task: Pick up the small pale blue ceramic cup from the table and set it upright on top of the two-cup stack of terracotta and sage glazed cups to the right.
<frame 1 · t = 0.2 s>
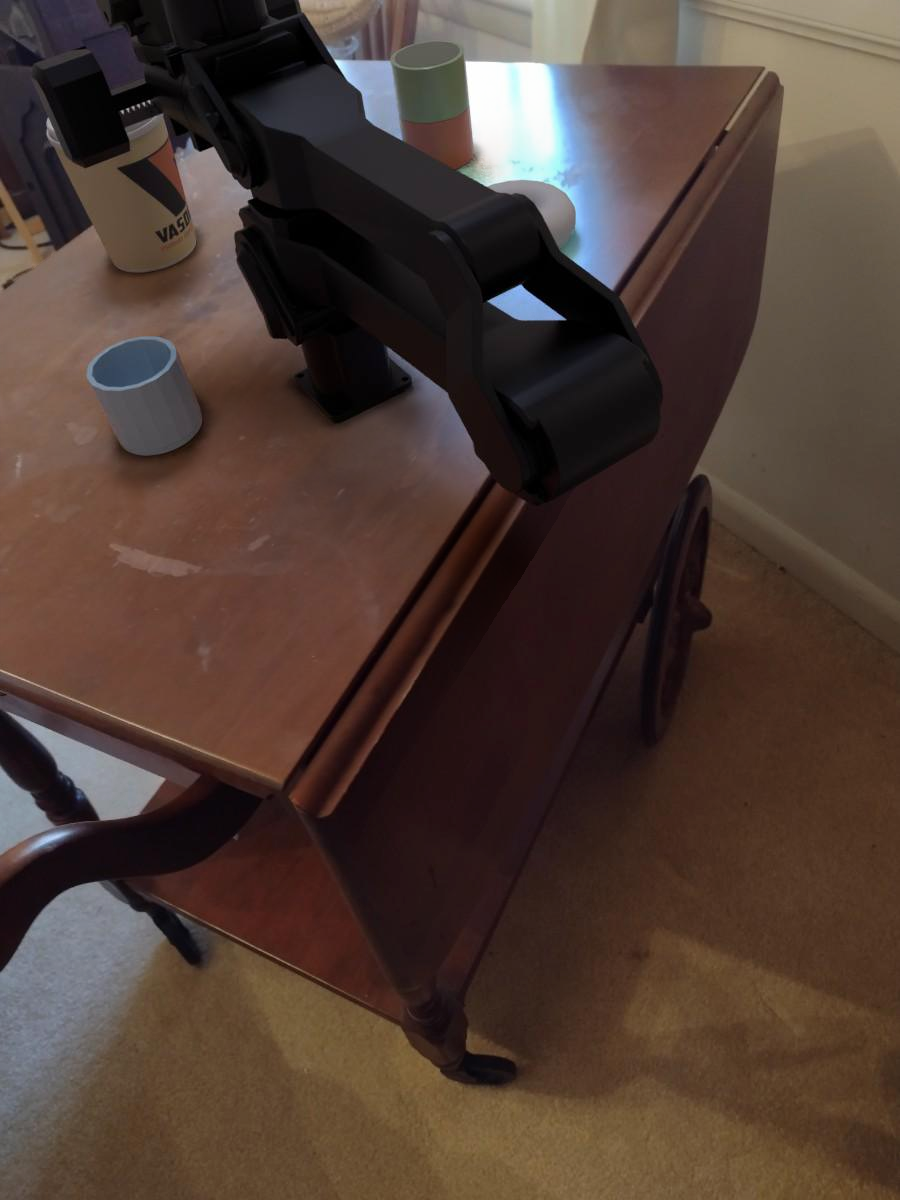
hand: (138, 50, 68), 16 cm above the tea cart, tool horizontal, fingers open, 9 cm apart
coffee cup: (155, 252, 82), on the tea cart
blue cup: (161, 427, 64), on the tea cart
donut: (515, 243, 76), on the tea cart
cup stack: (439, 157, 87), on the tea cart
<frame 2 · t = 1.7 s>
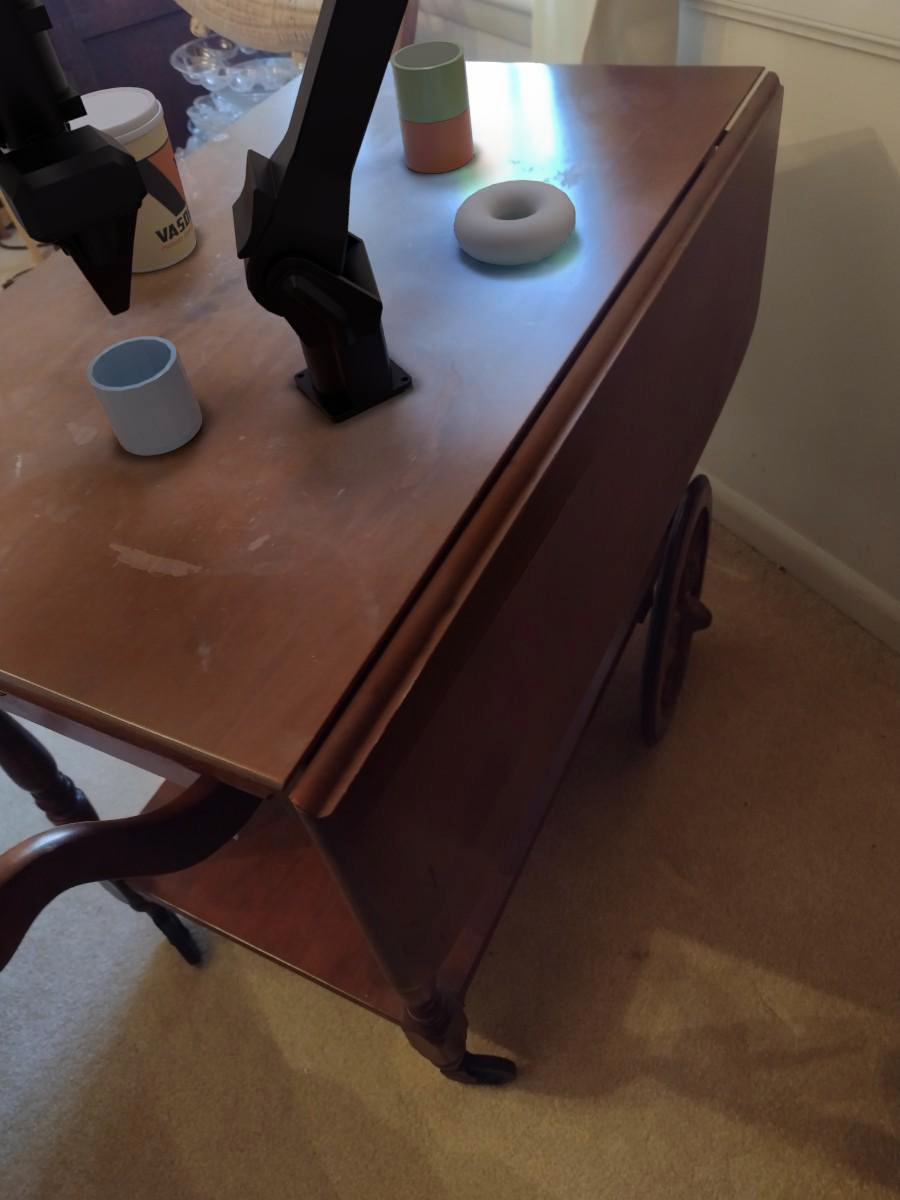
hand: (96, 281, 56), 11 cm above the tea cart, tool pointing down, fingers open, 9 cm apart
nothing on the tea cart moved.
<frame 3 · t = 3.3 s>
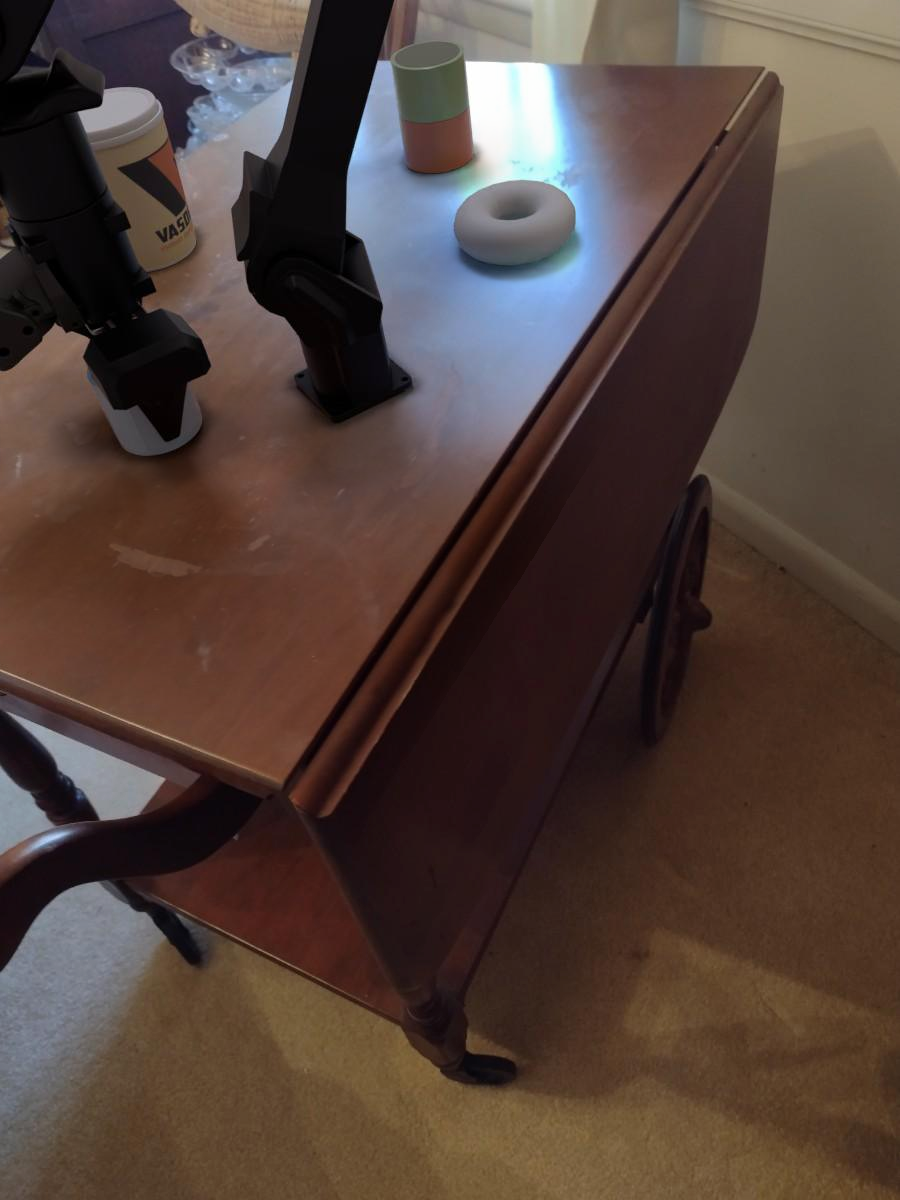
hand: (155, 416, 64), 1 cm above the tea cart, tool pointing down, fingers closed on blue cup, 6 cm apart
blue cup: (161, 427, 64), on the tea cart, touching gripper
everything else where it was.
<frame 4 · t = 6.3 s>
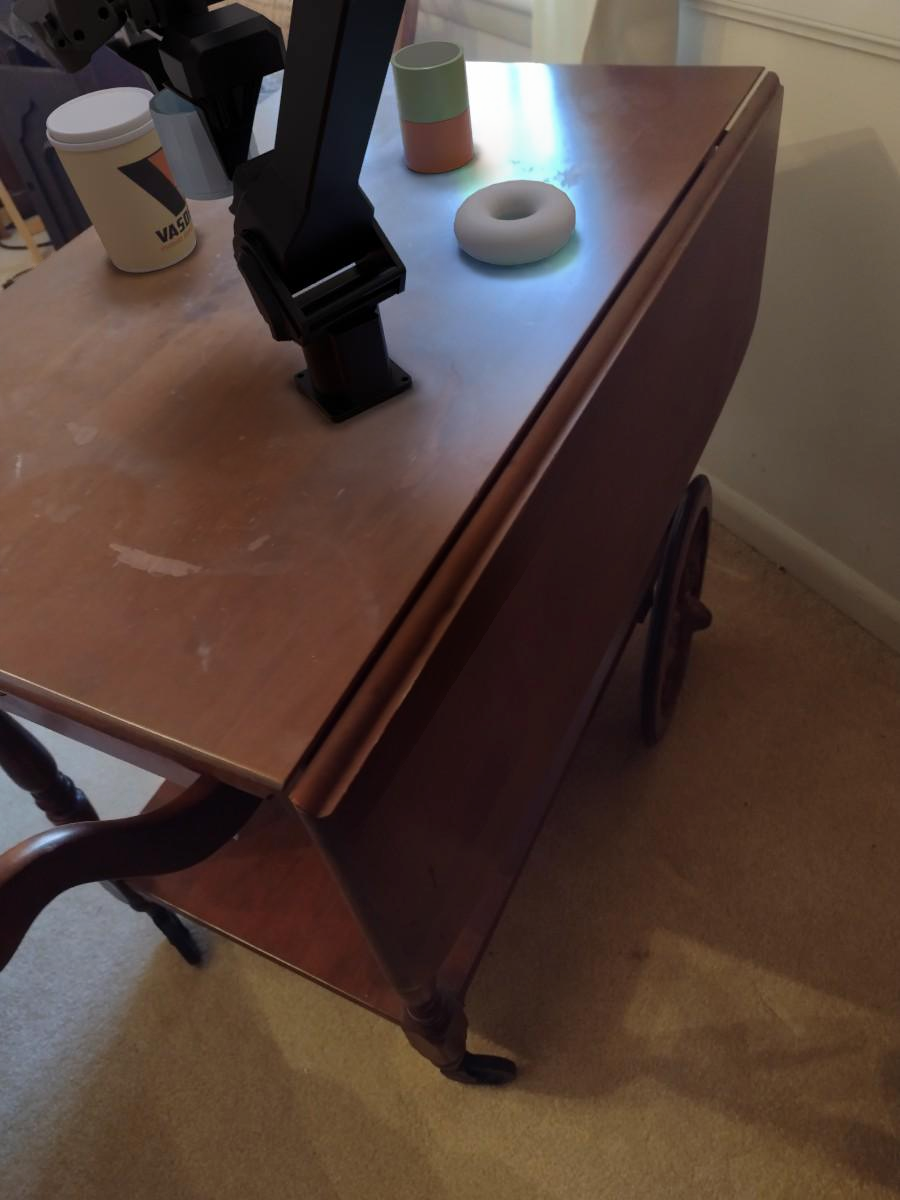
hand: (216, 164, 62), 13 cm above the tea cart, tool pointing down, fingers closed on blue cup, 6 cm apart
blue cup: (220, 179, 63), point 12 cm above the tea cart, touching gripper
everything else where it was.
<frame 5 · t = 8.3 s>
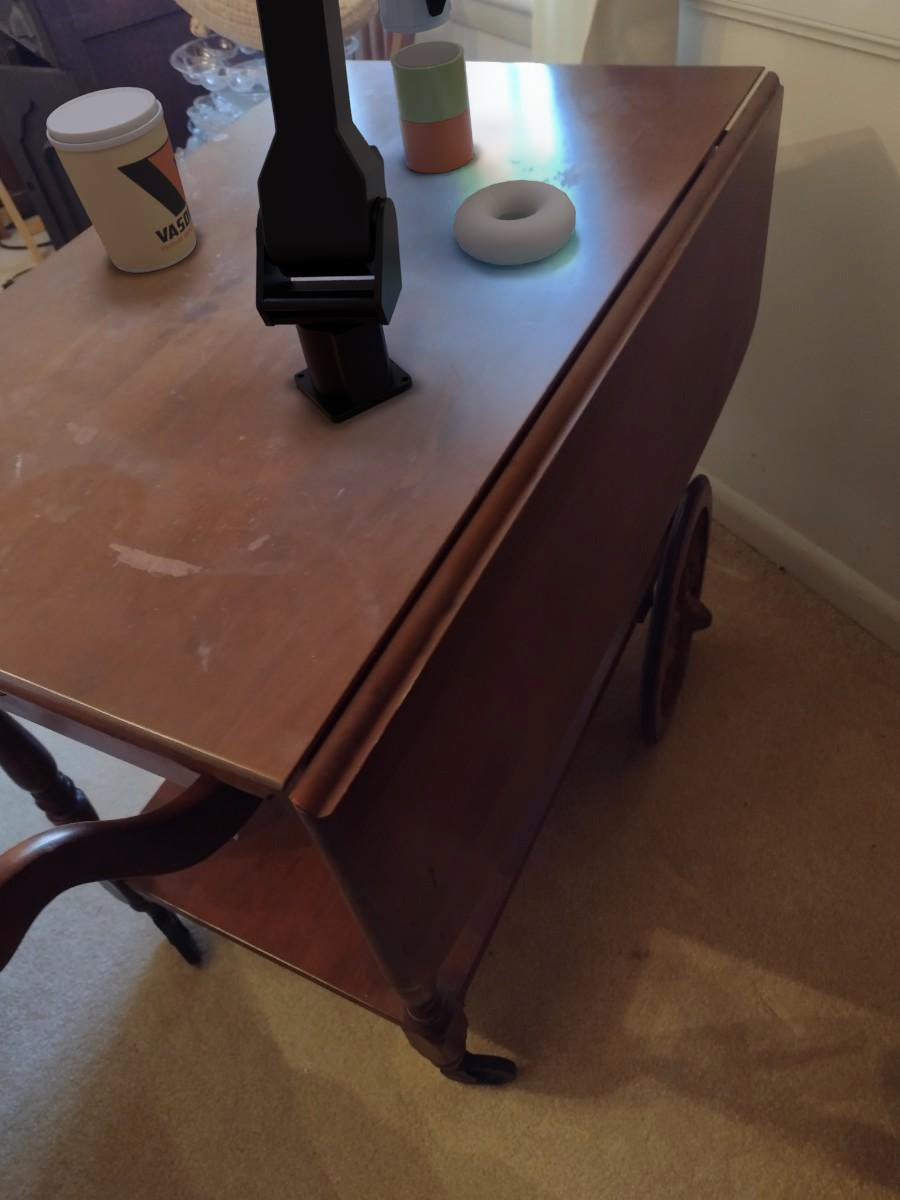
hand: (416, 6, 77), 13 cm above the tea cart, tool pointing down, fingers closed on blue cup, 6 cm apart
blue cup: (416, 20, 78), point 12 cm above the tea cart, touching gripper
everything else where it was.
when the fingers open (10 cm above the tea cart, at t = 9.6 s): blue cup stays where it is, resting on cup stack.
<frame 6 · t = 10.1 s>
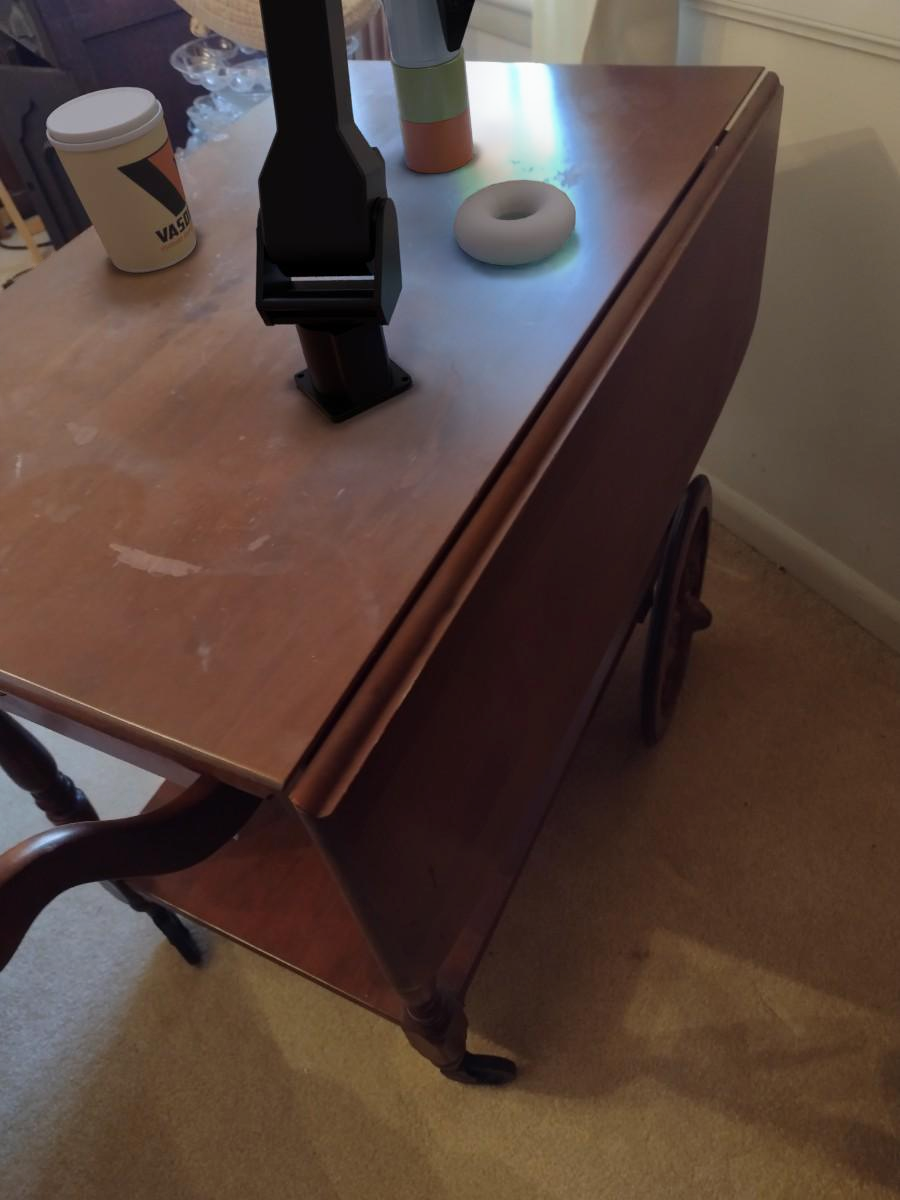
hand: (425, 38, 80), 10 cm above the tea cart, tool pointing down, fingers open, 9 cm apart
blue cup: (425, 54, 80), point 9 cm above the tea cart, touching cup stack
everything else where it was.
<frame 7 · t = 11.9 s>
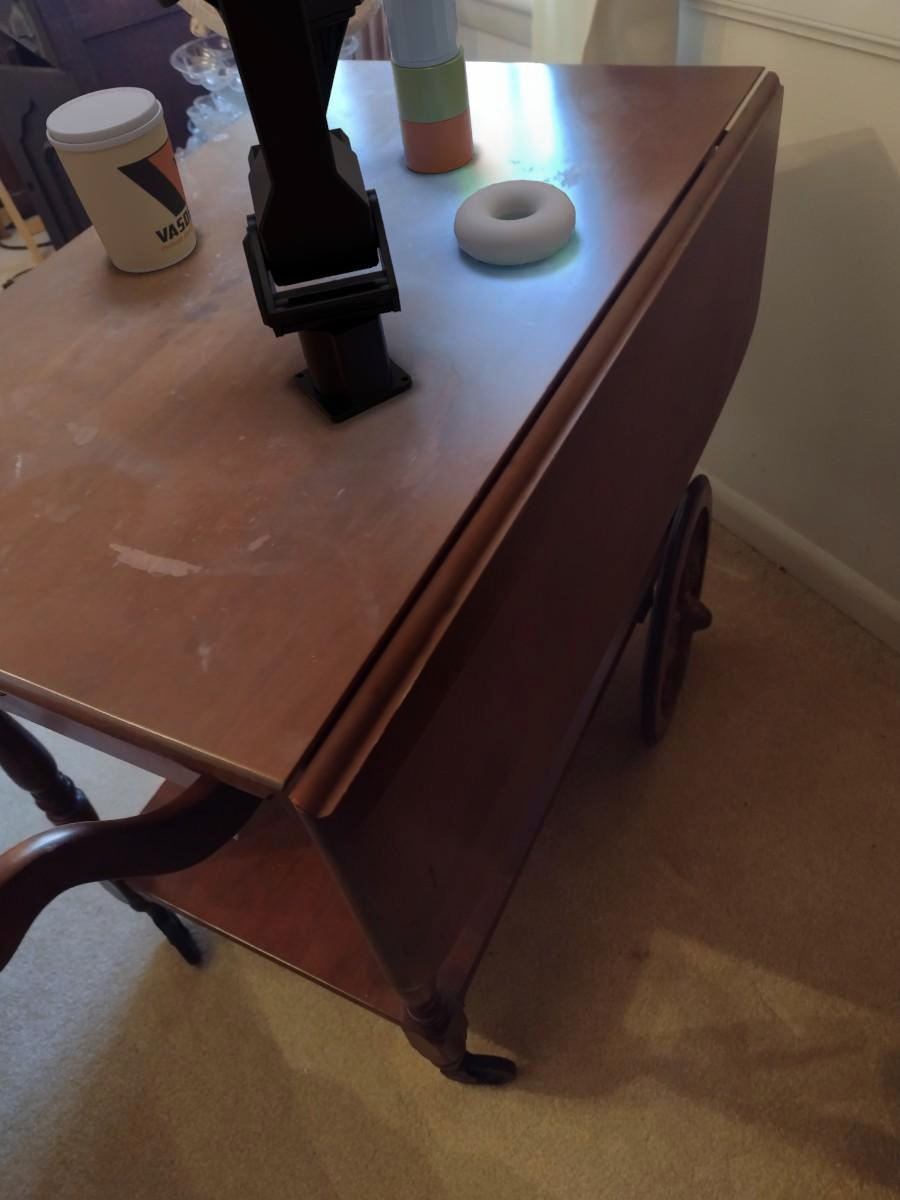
hand: (290, 103, 67), 13 cm above the tea cart, tool pointing down, fingers open, 9 cm apart
nothing on the tea cart moved.
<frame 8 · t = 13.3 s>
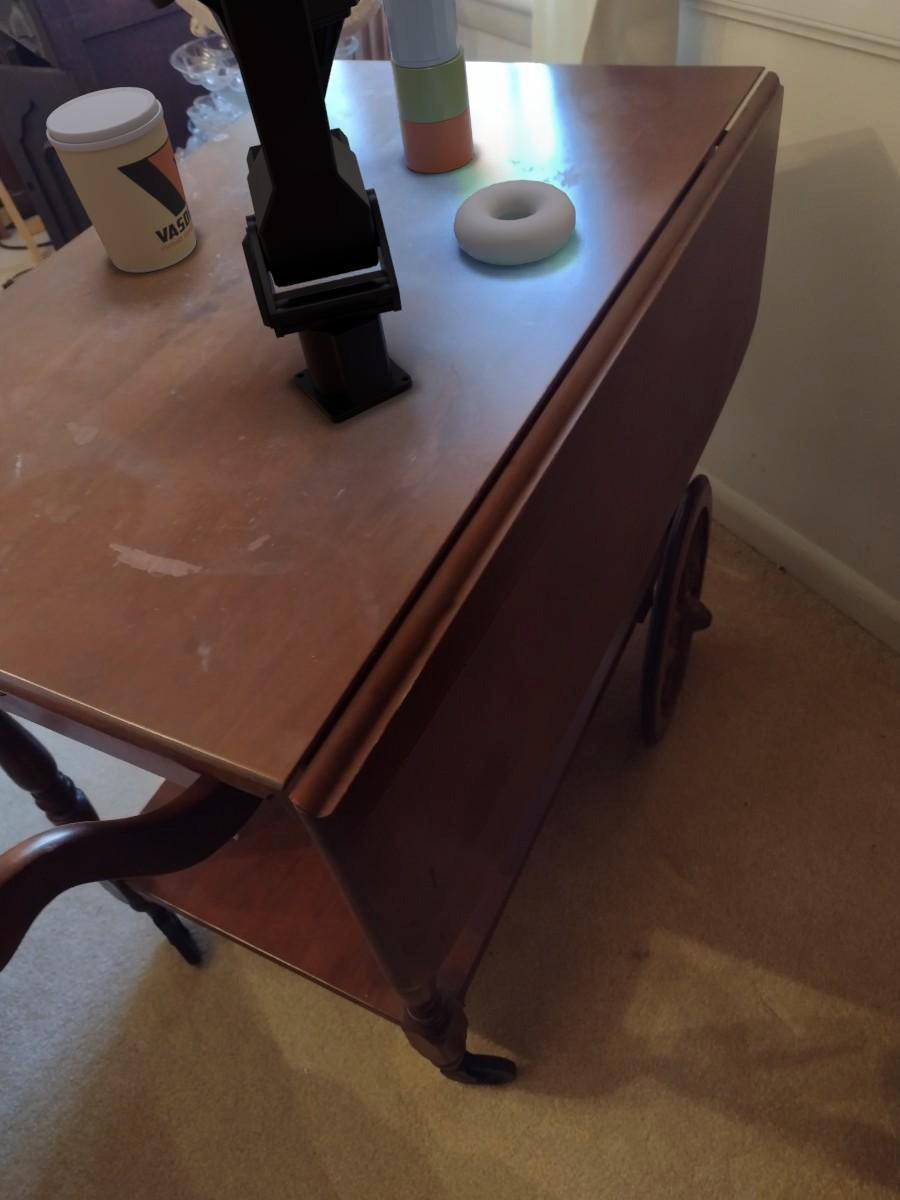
hand: (284, 103, 67), 13 cm above the tea cart, tool pointing down, fingers open, 9 cm apart
nothing on the tea cart moved.
at the end: blue cup 0.2 cm off-centre on the cup stack, point 9.0 cm above the cup stack's base; blue cup tilted 0°; the gripper is holding nothing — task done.
